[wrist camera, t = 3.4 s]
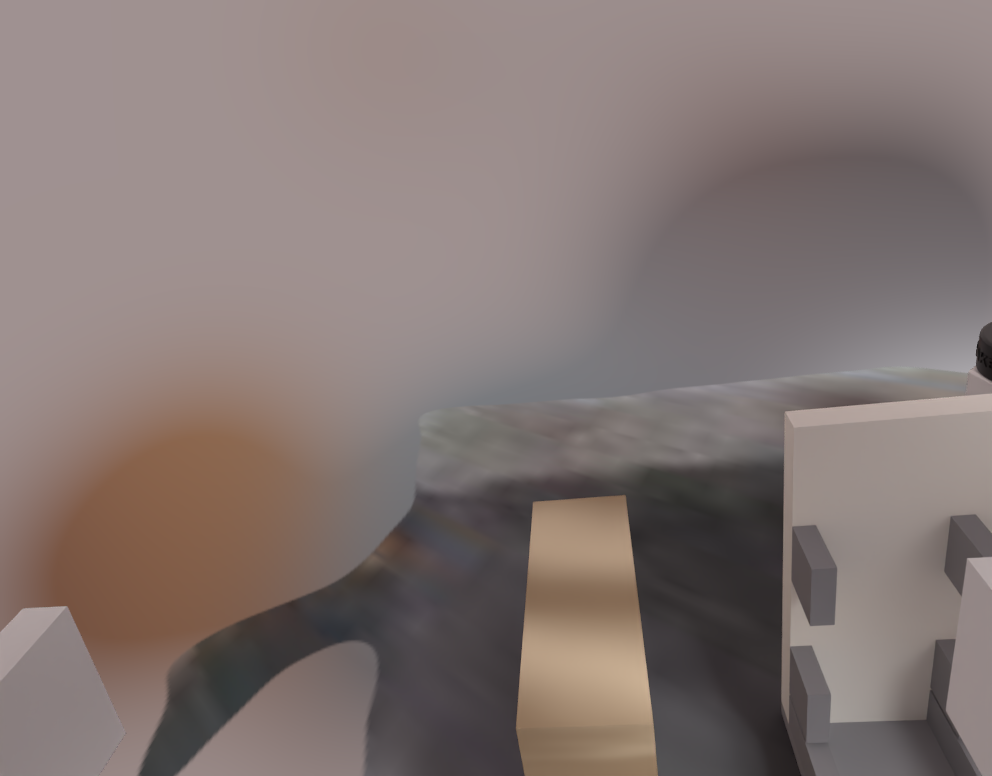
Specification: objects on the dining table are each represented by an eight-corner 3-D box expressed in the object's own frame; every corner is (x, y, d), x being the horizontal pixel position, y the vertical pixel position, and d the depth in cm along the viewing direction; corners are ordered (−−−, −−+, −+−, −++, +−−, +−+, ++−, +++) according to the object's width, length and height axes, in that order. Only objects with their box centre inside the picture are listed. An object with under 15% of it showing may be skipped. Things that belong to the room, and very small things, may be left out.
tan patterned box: (679, 1032, 28) (653, 723, 22) (572, 1030, 29) (516, 728, 22) (648, 756, 39) (625, 494, 33) (571, 758, 40) (533, 502, 33)
